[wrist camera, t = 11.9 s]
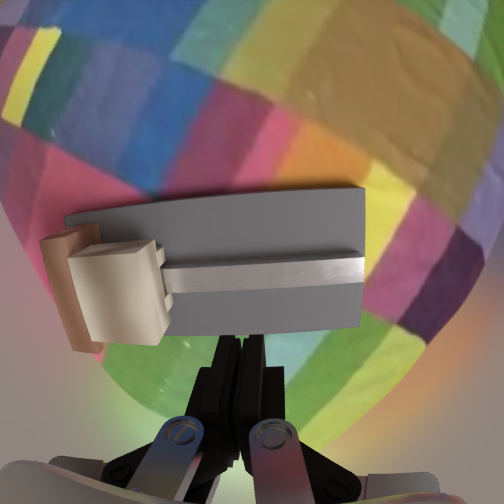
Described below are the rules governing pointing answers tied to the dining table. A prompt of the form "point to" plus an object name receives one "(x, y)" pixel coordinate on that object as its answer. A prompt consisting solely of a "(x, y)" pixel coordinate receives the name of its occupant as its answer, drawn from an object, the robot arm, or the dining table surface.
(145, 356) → the dining table surface
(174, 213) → the rail board
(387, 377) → the dining table surface
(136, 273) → the block
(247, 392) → the robot arm
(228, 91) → the dining table surface
